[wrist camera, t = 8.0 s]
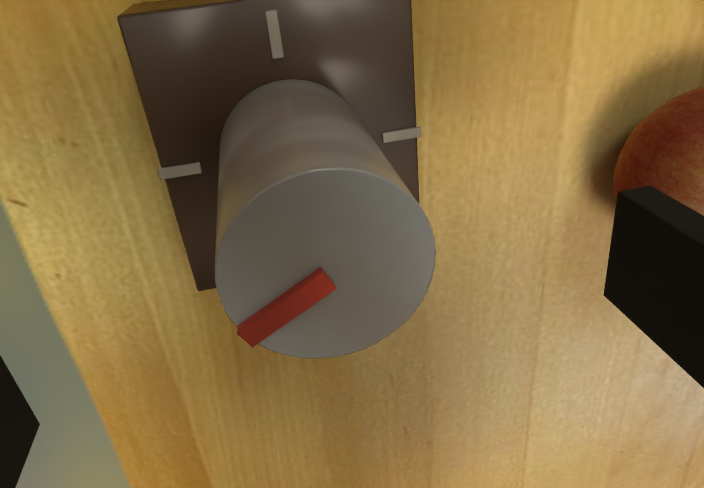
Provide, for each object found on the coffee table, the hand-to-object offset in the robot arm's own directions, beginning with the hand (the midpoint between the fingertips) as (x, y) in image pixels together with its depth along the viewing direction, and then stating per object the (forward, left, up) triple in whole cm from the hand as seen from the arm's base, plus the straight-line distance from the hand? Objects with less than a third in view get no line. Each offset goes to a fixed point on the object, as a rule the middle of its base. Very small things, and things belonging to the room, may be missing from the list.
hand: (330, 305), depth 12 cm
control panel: (0, 0, -12) cm, 12 cm away
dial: (0, 0, -9) cm, 9 cm away
